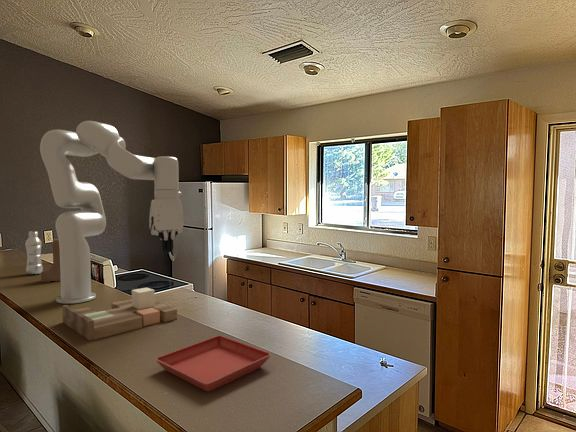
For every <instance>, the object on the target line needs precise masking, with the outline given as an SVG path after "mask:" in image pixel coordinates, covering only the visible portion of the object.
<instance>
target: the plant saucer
mask: <svg viewBox="0 0 576 432" xmlns="http://www.w3.org/2000/svg"><path fill="white" fill-rule="evenodd" d="M271 355H272V353H270V352H267V351H265V350H263V349H260V348H258V347H257V348H256V347H254V346H252V345H248V344H245V343H243V342H240V341H237V340H234V339H231V338H228V337H227V336H223V335H215V336H213V337H210V338H207V339H205V340H202V341H199V342H196V343H194V344H190V345H188V346H185V347H183V348H182V347H181V348H180V349H179V348H178V349H176V350H174V351H172V352H168V353H166V354H163V355H160V356H157V357H155V361H156V362H157V363H158V364H159V366H161V368H162V369H164V370H165V371H166V372H168V373H170V374H171V375H173V376H176V377H177V376H178V378H180V379H182V380H184V381H186V382H188V383H189V384H191V385H194V386H195V387H197V388H199V389H201V390H203V391H205V392H209V391H210V392H212V391H214V390H216V388H217V389H218V388H220V387H221V388H222V387H223V386H225V385H226V384H229V383H231V382H234V381H235V380H237V379H240V378H242V377H244V376H246V375H248V374H250V373H251V372H255V371H256V370H258V369H260V368H261V367H262V366H263V365H264V364H265V363H266V362H267V361H268V360H269V359H270V357H271Z"/></svg>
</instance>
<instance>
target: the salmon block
mask: <svg viewBox="0 0 576 432" xmlns="http://www.w3.org/2000/svg"><path fill="white" fill-rule="evenodd" d="M136 315H139V316H141V317H142V327H146V326H150V325H154V324H158V323H161V320H160V311H158V310H156V309H154V308H148V309H143V310H138V311H136Z"/></svg>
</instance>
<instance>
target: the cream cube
mask: <svg viewBox="0 0 576 432" xmlns="http://www.w3.org/2000/svg"><path fill="white" fill-rule="evenodd" d="M155 291H156V290H155V289H153V288H149V287H141V288H136V289H131V299H132V306H133V307H135V308H138V309H143V308H148V307H152V306H155V301H156V297H155V295H156V294H155Z"/></svg>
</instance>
